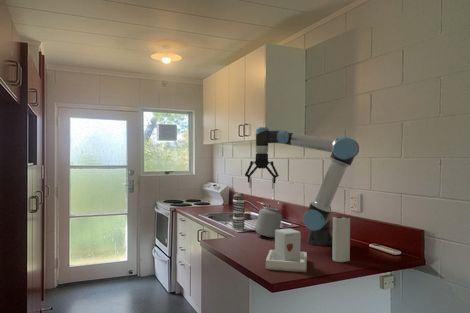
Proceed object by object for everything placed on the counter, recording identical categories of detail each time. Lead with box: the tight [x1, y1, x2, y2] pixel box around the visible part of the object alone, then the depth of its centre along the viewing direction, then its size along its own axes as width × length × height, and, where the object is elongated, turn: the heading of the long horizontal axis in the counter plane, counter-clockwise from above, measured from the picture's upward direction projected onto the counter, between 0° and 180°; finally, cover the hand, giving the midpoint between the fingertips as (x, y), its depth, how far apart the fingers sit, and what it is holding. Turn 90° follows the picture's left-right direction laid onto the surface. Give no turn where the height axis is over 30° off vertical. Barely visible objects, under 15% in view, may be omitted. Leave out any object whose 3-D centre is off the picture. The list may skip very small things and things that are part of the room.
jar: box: [254, 197, 283, 238], centre depth 215 cm, size 19×15×25 cm
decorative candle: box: [231, 192, 246, 231], centre depth 237 cm, size 9×9×25 cm
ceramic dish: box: [265, 249, 308, 273], centre depth 159 cm, size 18×18×4 cm
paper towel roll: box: [331, 216, 351, 263], centre depth 166 cm, size 7×6×21 cm
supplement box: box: [274, 228, 302, 262], centre depth 160 cm, size 9×9×15 cm
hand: (261, 188), depth 203 cm, fingers open, 13 cm apart
